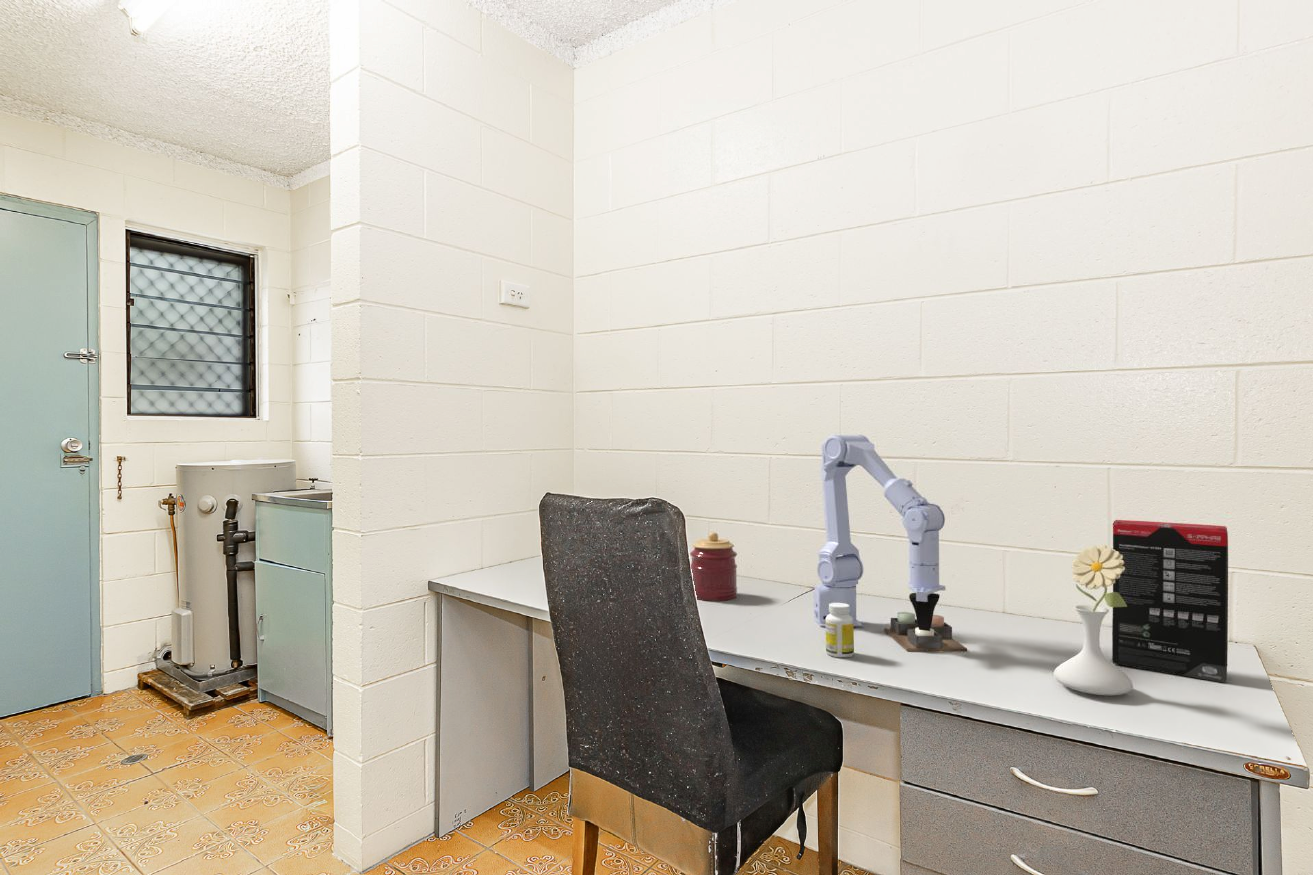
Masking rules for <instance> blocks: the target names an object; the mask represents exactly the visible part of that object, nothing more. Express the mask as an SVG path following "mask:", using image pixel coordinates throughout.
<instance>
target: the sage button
mask: <svg viewBox="0 0 1313 875" xmlns="http://www.w3.org/2000/svg"><path fill="white" fill-rule="evenodd" d="M897 618H898V623H907V624H915V619H916V614H915V613H913V612H909V611H908V612H907V611H899V612H898V613H897Z"/></svg>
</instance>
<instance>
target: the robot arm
mask: <svg viewBox="0 0 1313 875" xmlns="http://www.w3.org/2000/svg"><path fill="white" fill-rule="evenodd" d="M821 456H822V462H821V468H820V474H821V485H822V497H823V498H822V499H823V510H824V511H823V512H824V523H825V524H824V525H825V526H824V527H825V535H826V544H825V545H824V546H823V547H822V548H821V549H820V550H819V551H818V563H817V566H816V572H817V576H818V578H819V580H820V581H821V584H815V586H814V592H813V594H814V595H813V602H814V603H813V605H814V606H813V609H814V610H813V612H814V615H813V619H814V620H815V622H816V623H817V624H818V625H819V626H820V627H826V617H827V615H829V614H830V612H829V604H831V603H845V604H848V605H849V606H850V611H849V613H848V615H850V616H851V617H852V618H853V627H863V624H862V623H861V622H860V621H859V620H858V619H857V585H859V580H860V579H862V577H863V576H864V575H863V574H864V565H863V562H862V560H861V557H860V552H859V549H858V548H857V547H856V546H855V545H854V544H853V543H852V541H851V540H852V538H851V528H850V517H849V504H848V491H847V480H846V478H847V477H846V476H847V475H848V474H849V472H850V471H851V470H852V469H853V468H855V467H857V466H860V467H862V468H863V469H864V470H865V471H866V472H867V473H868V474H869V475H870V476H871V477H872V478H873V479H874V480H875V481H876V482H877V483H879V485H880V486H882V487H883V488H884V489H883V490H884V491H883V496H884V497H885V498H886V500H887V501H888V503H889V504H891V506H892V507H893V508H894V509H895V510H896V511H897V512H898V513H899V515H901V517H903V518H902V519H901V520H902V524H903V527H904V529H905V530H906V532H907V533H906V534H907V539H908V542H909V543H908V544H909V546H908V547H909V548H908V552H909V553H908V554H909V555H908V556H909V557H908V560H909V561H908V562H909V563H908V564H909V566H908V568H909V571H908V572H909V573H908V574H909V582H908V589H909V590H911V591H912V593H909V595H908V598H909V601H910V602H911V603H910V604H911V605H912V607H913V610H914V614H915V619H916V620H917V624H918V628H919V630H926V631H930V629H931V625H932V619H933V615H934V612H935V608H936V605H937V604H938V602H939V599H940V597H941V596H940V594H939V593H937V592H940V591H946V589H947V588H946V585H942V584H940V531H941V530H942V529H943V527H944V526H945V523H946V522H945V521H946V518H945V514H944V511H943V510H942V508H941V506H940V505H938V504H936V503H930V501H928V500H927V499H926V497H925V496H922V495H921V494H920V493H919V492H918V491H917V489H916V488H915V487H913V485H914V483H913V482H912V481H911V480H907V479H906V478H902V477H901V478H898V477H897V476H896V474H894V472H893V471H892V470H891V468H889V466H888V465H887V464H886V463H885V461H884V460H883V459H882V458H881V457H880V455H879V454H878V453H877V451H876V450H875V444H874V443H872V442H871V441H870V439H868V437H867V436H866V435H863V434H857V435H849V434H848V435H847V434H846V435H841V434H839V435H838V434H831V435H829V436H828V437H827V438H826V439H825V440H824V442H823V443H822V444H821Z"/></svg>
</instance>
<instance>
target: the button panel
mask: <svg viewBox="0 0 1313 875" xmlns="http://www.w3.org/2000/svg"><path fill="white" fill-rule="evenodd" d="M917 627H918V624H917V618H915V624H907V623H898V617H890V628H888V627H886V628H885V627H884V628H883V632H884V633H886V634H887V635H888V636H889V637H890V638H891V639H893V640H894V642H896V643H897V644H898V645H899V646H901V647H902V648H903V649H904V650H905V651H907V652H953V653H954V652H957V653H958V652H960V653H961V652H966V653H967V652H968V648H967V647H966V646H964V645H963V644H961V643H960V642H959V641H957V640H956V639H954V638H953V627H952V625H950V624H948V623H947V622H945V621H944V627H931V629H933V630H934V636H917V635H916V634H915V628H917Z"/></svg>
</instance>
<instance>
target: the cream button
mask: <svg viewBox="0 0 1313 875" xmlns="http://www.w3.org/2000/svg"><path fill="white" fill-rule="evenodd" d="M915 634H916V635H917V636H934V630H933V629H930V631H926V630H919V628H918V627H917V628H915Z"/></svg>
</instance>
